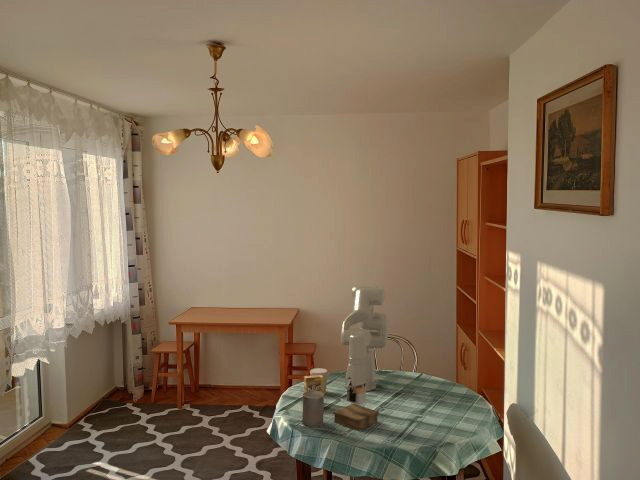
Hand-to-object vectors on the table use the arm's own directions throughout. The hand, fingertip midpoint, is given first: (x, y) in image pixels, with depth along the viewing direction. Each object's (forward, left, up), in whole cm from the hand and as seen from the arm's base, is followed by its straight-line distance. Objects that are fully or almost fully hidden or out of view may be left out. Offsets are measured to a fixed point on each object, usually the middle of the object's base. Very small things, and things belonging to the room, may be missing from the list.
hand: (356, 399), depth 267 cm
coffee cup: (-18, -40, -11) cm, 45 cm away
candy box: (-1, -28, -11) cm, 30 cm away
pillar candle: (+15, -13, -11) cm, 23 cm away
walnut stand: (0, 0, -11) cm, 11 cm away
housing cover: (0, 0, +4) cm, 4 cm away
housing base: (0, 0, -1) cm, 1 cm away
